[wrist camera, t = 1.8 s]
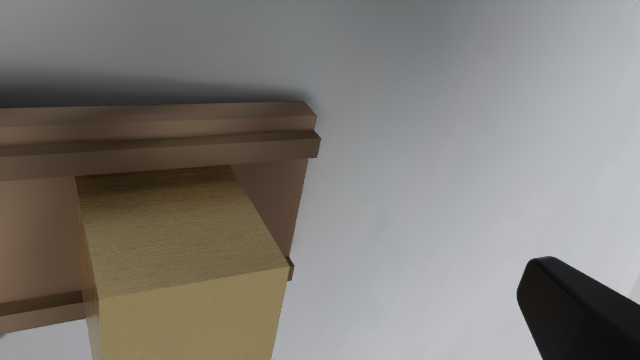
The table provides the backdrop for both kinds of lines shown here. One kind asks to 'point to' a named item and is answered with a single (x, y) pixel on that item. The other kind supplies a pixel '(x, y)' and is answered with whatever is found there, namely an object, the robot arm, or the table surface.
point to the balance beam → (120, 157)
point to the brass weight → (177, 266)
